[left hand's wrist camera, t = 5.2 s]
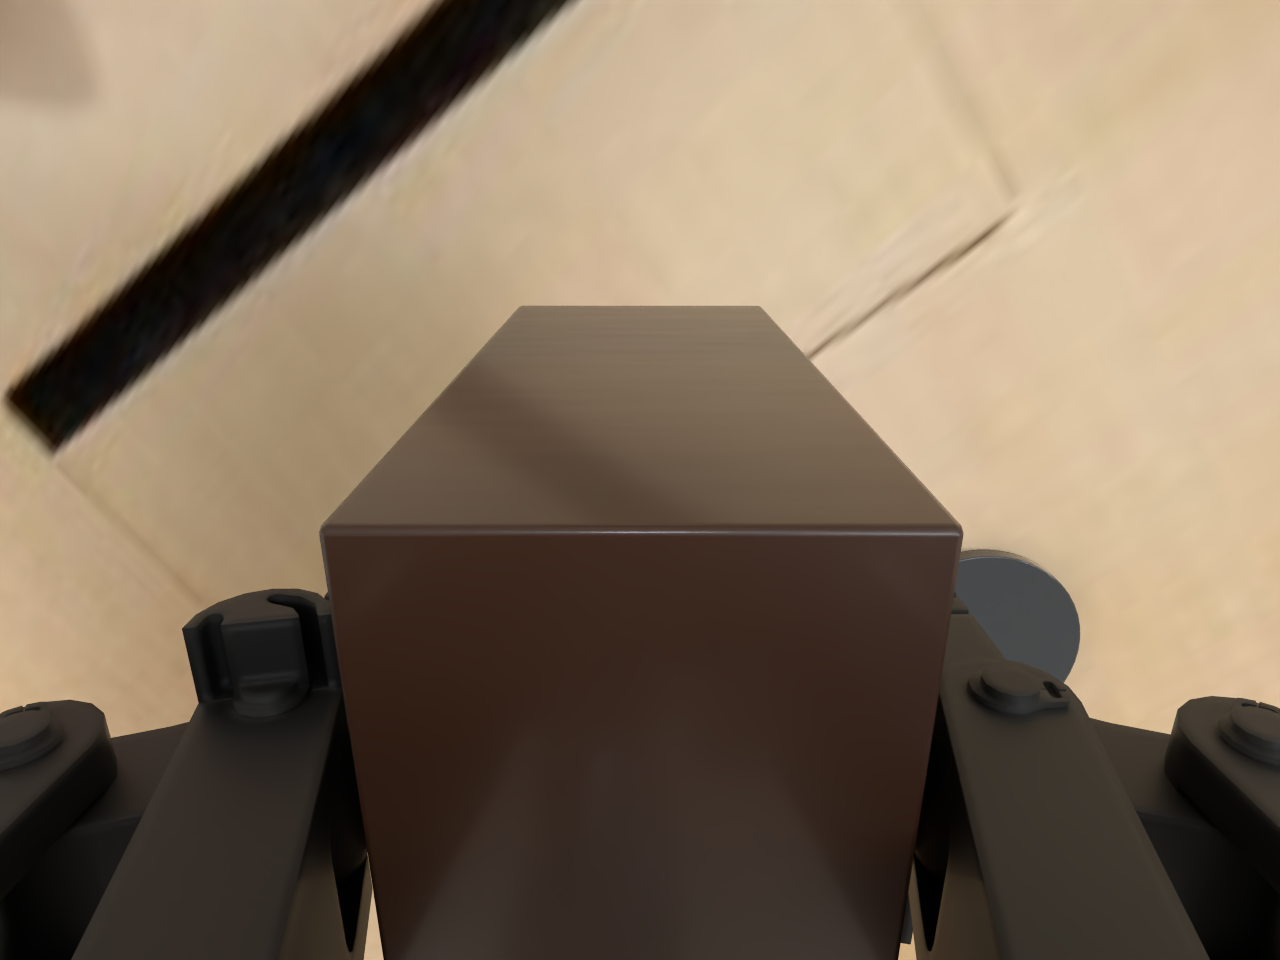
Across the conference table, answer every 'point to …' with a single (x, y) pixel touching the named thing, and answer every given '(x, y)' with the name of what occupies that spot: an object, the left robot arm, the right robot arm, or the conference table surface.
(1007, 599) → the coaster
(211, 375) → the conference table surface
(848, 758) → the bar
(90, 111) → the conference table surface
